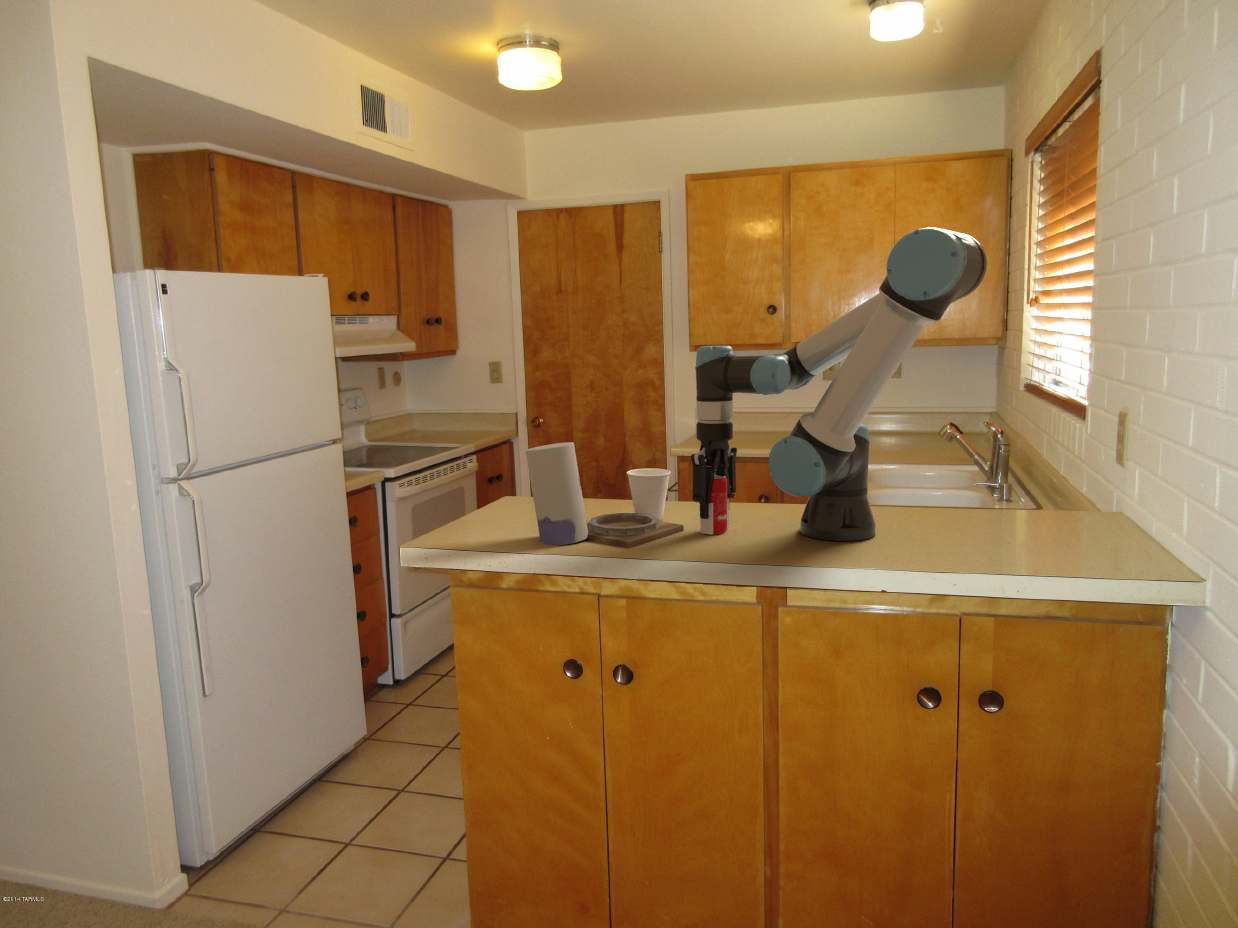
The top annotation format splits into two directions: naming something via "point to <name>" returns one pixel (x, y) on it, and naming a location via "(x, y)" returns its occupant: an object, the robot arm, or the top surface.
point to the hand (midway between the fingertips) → (714, 530)
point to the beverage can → (719, 504)
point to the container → (557, 493)
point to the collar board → (634, 538)
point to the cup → (649, 490)
